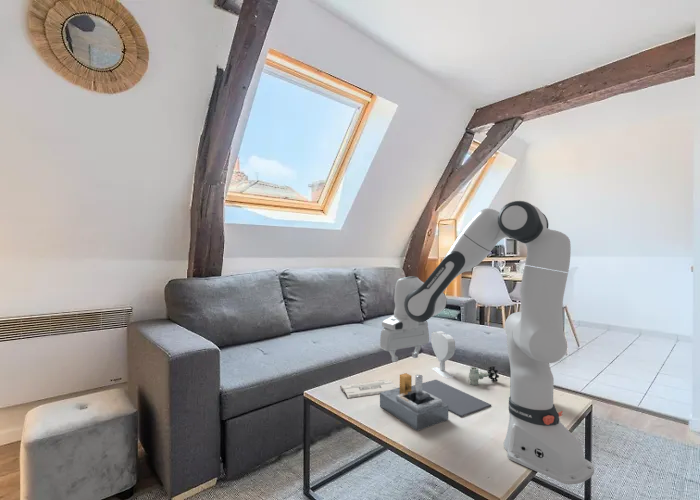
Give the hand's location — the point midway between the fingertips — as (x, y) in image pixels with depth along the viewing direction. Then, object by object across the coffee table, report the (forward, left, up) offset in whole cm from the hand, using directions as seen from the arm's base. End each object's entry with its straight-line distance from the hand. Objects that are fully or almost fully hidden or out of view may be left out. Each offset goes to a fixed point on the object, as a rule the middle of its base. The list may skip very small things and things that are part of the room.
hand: (405, 359), depth 131 cm
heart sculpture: (+19, -38, -18) cm, 46 cm away
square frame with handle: (-6, 0, -13) cm, 14 cm away
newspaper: (+21, +2, -19) cm, 28 cm away
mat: (-1, -20, -18) cm, 27 cm away
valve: (+1, -44, -18) cm, 47 cm away
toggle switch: (-4, 0, -18) cm, 18 cm away
